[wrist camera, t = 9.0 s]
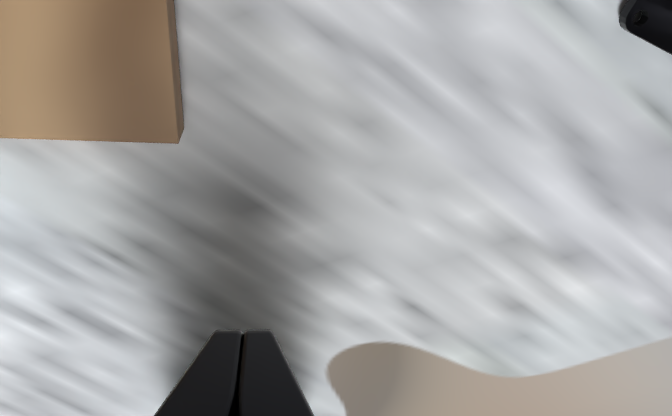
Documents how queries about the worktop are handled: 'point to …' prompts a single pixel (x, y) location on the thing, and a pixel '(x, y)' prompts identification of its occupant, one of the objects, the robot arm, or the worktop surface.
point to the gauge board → (90, 71)
